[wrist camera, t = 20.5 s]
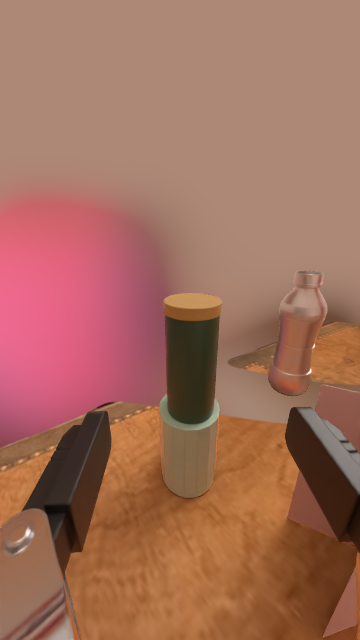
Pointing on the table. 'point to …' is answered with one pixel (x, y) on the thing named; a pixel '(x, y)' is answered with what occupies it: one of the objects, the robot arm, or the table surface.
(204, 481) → the vase
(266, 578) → the table surface
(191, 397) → the tea tin
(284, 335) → the plastic bottle
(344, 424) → the greeting card
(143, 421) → the table surface
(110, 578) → the table surface
